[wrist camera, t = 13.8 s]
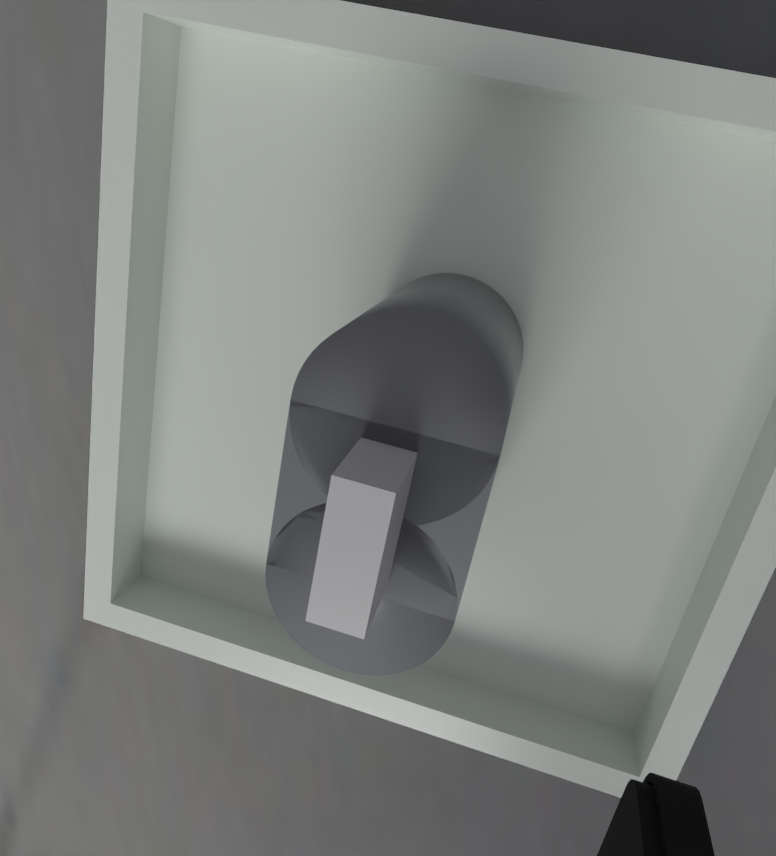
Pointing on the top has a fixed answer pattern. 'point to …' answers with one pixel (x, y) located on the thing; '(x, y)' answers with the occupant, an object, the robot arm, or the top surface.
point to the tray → (390, 271)
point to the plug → (391, 473)
